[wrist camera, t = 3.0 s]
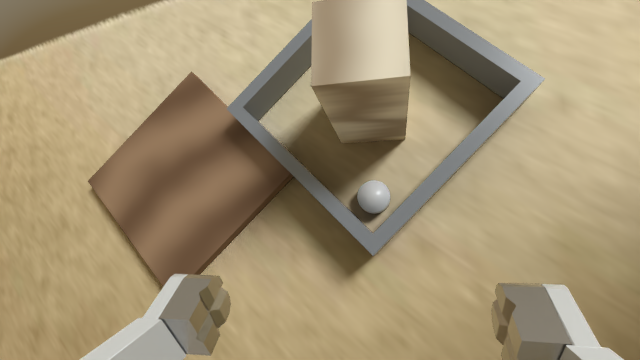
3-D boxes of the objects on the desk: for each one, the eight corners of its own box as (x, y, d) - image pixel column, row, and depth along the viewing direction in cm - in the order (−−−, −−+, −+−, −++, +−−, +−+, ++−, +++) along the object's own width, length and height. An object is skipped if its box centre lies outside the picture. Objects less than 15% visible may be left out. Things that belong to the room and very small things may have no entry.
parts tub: (527, 98, 24) (545, 78, 21) (375, 254, 24) (373, 255, 21) (368, -10, 29) (365, -38, 26) (243, 122, 29) (226, 108, 26)
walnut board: (295, 174, 27) (291, 171, 26) (179, 295, 27) (171, 297, 26) (197, 76, 31) (191, 71, 30) (97, 183, 31) (87, 181, 30)
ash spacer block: (402, 80, 26) (405, -14, 17) (405, 139, 25) (410, 75, 16) (341, 86, 28) (312, 2, 18) (341, 143, 27) (311, 86, 17)
